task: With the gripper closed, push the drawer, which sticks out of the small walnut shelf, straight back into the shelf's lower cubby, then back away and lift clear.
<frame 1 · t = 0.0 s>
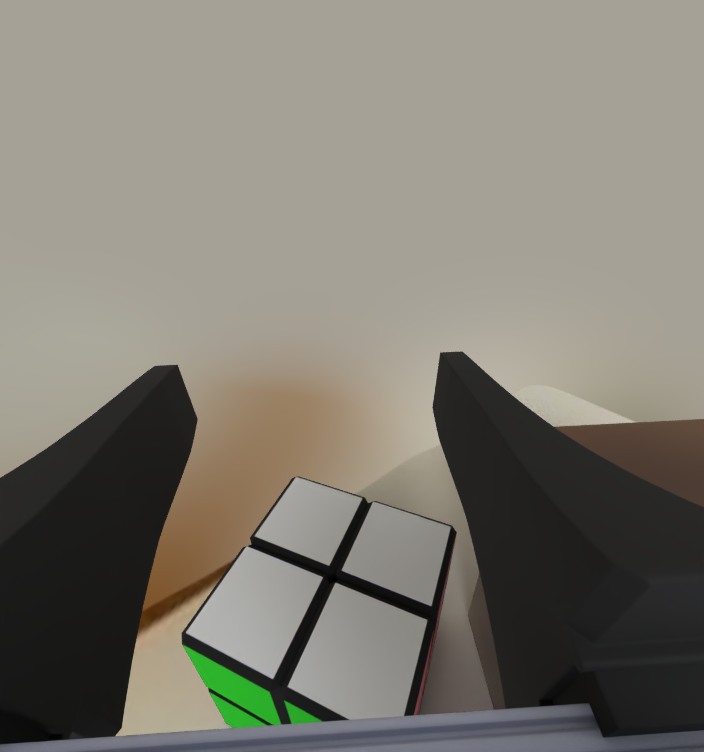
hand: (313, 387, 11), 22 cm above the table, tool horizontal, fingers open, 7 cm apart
puzzle cube: (341, 666, 24), on the table
shelf: (589, 682, 23), on the table
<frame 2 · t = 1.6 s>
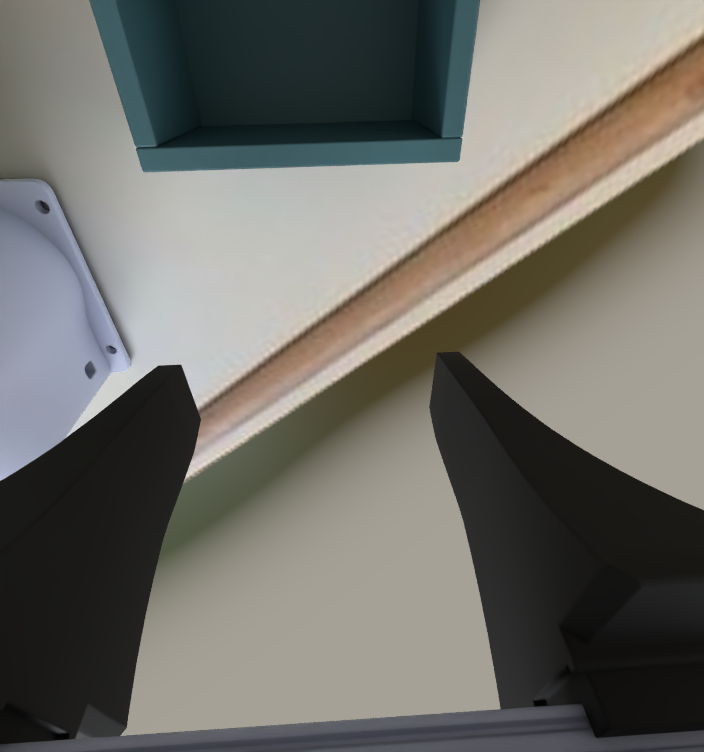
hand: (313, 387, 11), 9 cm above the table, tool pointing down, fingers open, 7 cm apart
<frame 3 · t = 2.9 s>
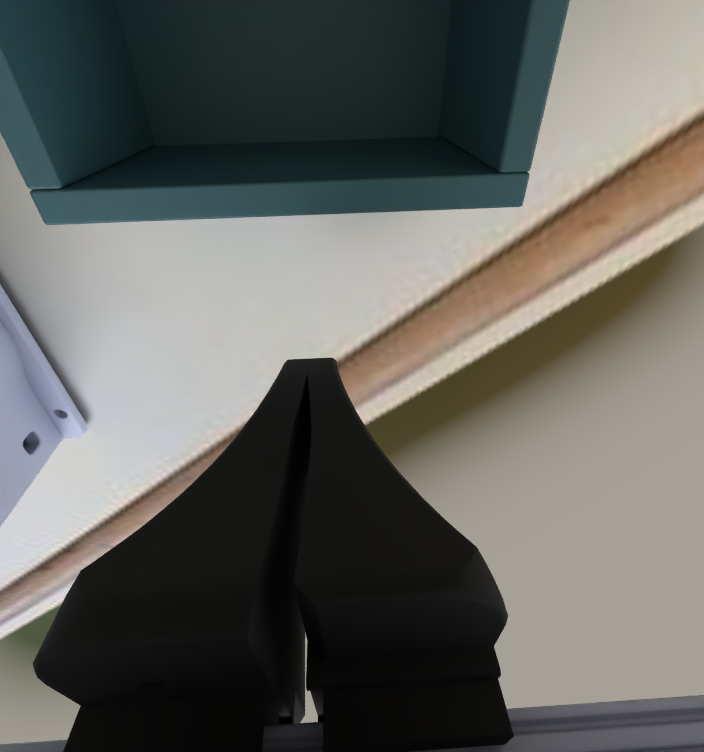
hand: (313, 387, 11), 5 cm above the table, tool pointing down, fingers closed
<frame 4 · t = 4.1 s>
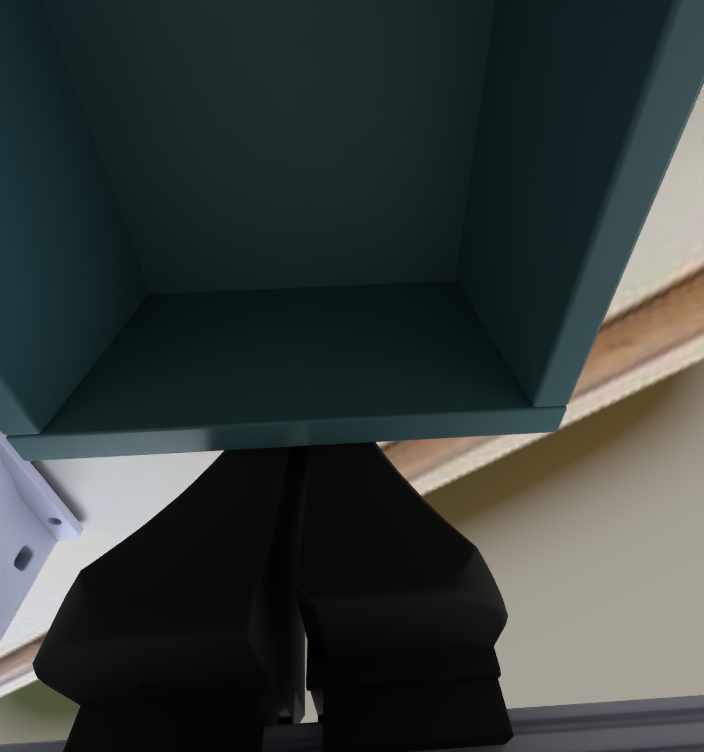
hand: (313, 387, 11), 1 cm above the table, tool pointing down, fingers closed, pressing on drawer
drawer: (280, 38, 8), on the table, touching gripper
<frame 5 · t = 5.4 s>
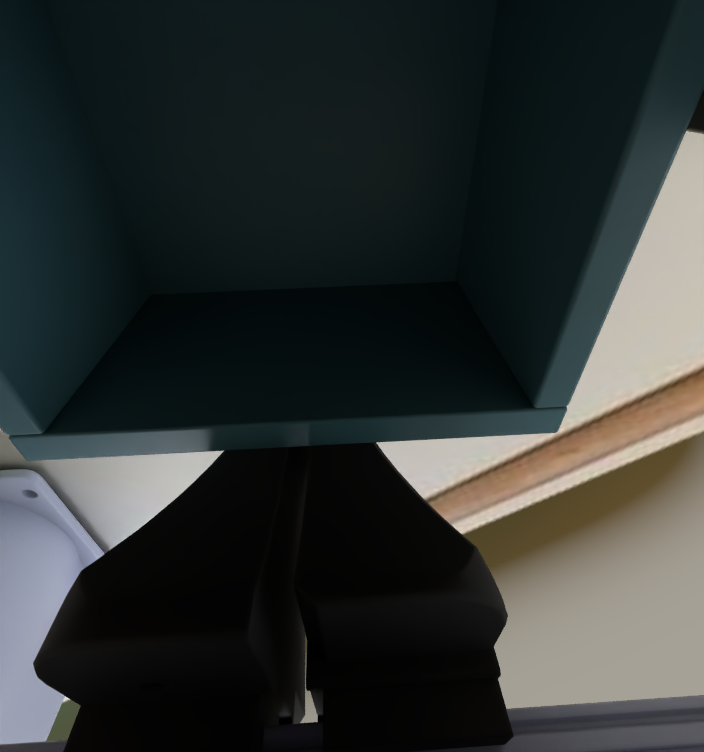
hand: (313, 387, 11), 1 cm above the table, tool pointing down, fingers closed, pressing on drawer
drawer: (282, 39, 8), on the table, touching gripper
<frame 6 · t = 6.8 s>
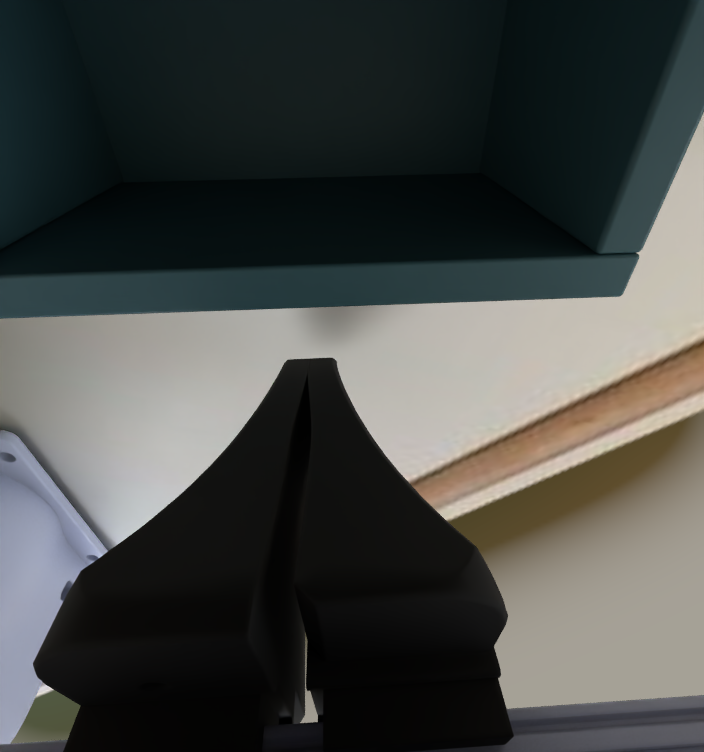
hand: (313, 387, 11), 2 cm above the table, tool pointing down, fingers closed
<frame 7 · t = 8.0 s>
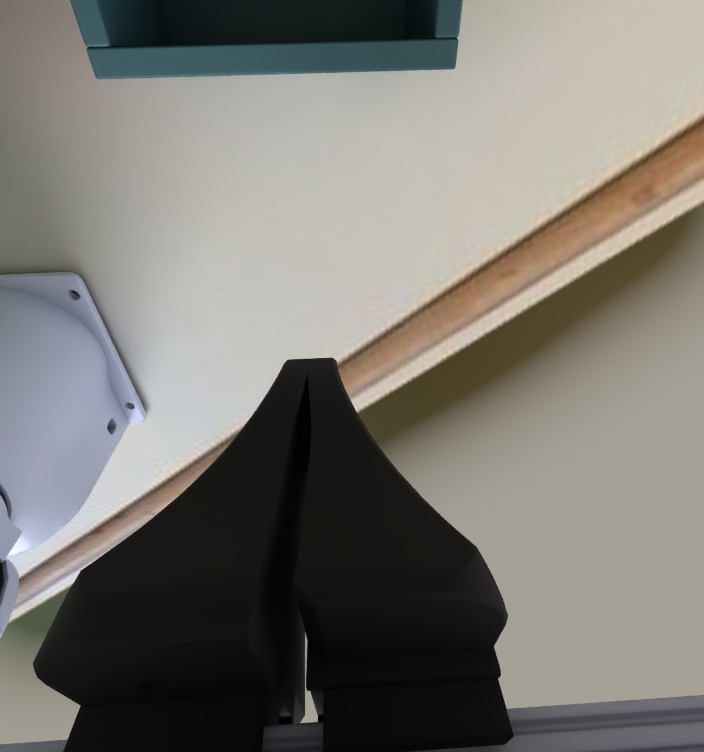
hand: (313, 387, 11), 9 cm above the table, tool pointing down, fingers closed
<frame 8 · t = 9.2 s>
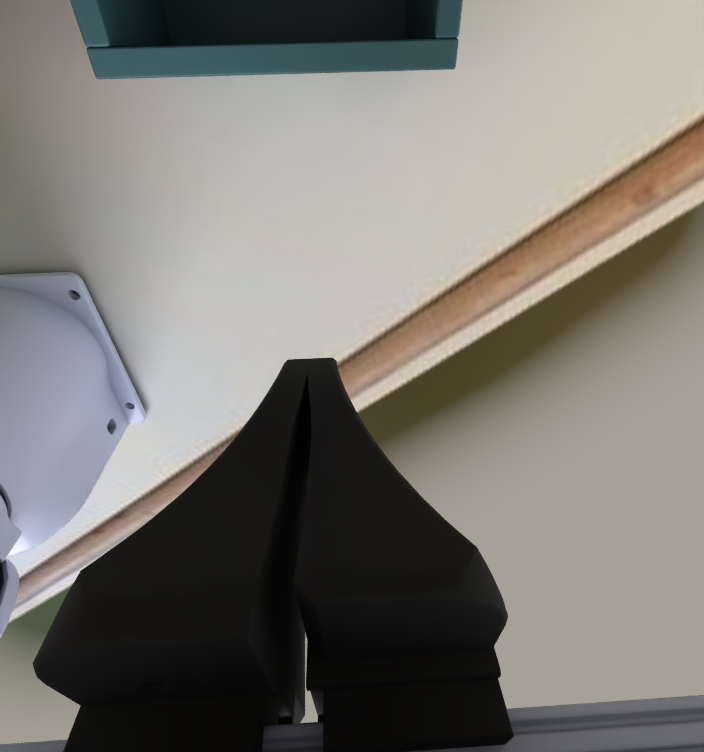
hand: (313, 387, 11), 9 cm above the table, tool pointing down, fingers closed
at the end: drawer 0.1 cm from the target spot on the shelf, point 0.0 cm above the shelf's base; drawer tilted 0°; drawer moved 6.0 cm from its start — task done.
